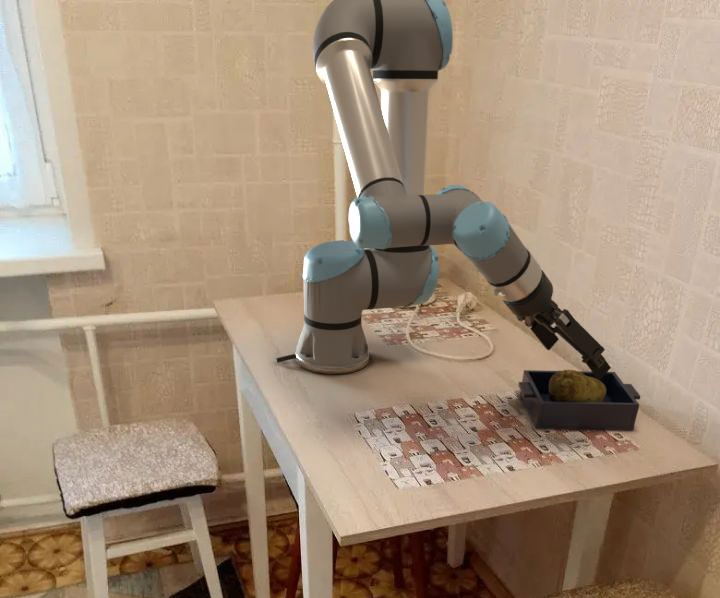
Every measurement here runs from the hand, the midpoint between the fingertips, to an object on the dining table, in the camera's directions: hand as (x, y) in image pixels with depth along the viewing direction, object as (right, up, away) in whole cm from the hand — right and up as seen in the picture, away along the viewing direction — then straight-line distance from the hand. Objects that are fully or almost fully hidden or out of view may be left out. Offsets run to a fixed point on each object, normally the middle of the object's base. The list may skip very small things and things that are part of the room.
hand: (577, 358), depth 130 cm
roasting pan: (+1, -9, +6) cm, 11 cm away
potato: (+1, -9, +6) cm, 10 cm away
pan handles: (+1, -6, +4) cm, 7 cm away
